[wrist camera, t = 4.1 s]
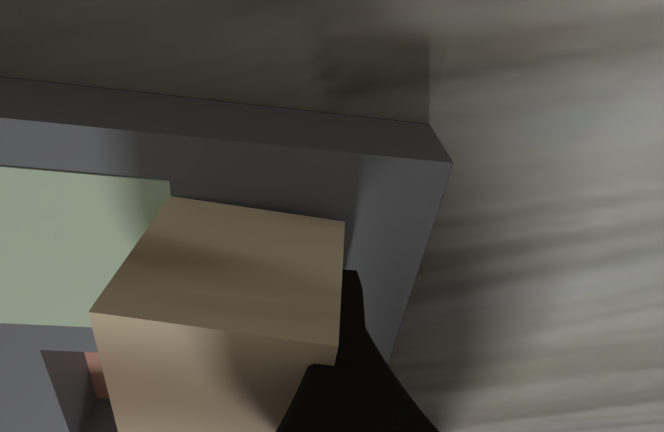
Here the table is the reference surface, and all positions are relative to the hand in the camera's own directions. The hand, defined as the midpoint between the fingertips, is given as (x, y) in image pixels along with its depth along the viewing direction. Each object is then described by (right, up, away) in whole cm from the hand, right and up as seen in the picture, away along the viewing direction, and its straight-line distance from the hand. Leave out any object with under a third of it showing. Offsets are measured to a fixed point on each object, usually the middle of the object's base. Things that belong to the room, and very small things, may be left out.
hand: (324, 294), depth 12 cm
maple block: (-2, 0, 0) cm, 2 cm away
